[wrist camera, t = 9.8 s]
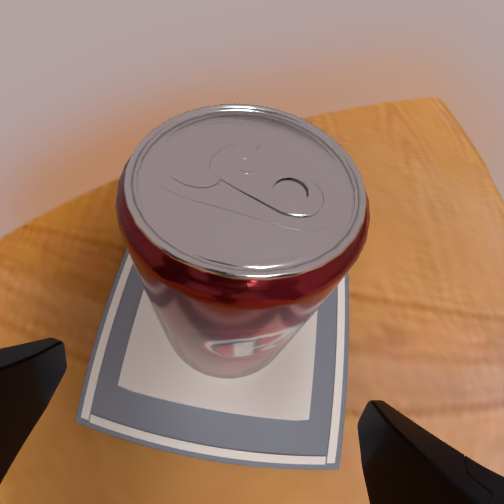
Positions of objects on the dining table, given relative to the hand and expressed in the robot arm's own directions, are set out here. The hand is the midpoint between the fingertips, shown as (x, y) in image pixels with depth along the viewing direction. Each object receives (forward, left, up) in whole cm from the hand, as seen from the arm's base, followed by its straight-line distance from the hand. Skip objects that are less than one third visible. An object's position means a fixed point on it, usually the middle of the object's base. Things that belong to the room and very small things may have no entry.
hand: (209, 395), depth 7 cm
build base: (+2, +5, -13) cm, 14 cm away
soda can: (+2, +5, -9) cm, 11 cm away
